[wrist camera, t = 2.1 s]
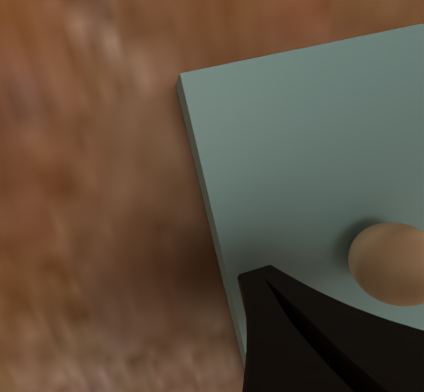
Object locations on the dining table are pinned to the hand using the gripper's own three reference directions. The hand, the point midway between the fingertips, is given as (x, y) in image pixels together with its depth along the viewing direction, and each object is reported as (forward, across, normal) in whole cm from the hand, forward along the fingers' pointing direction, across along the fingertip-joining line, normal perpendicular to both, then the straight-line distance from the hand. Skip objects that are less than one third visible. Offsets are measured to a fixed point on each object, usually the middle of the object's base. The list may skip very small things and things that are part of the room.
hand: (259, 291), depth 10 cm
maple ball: (-1, -5, 0) cm, 5 cm away
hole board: (+3, -8, 0) cm, 9 cm away
